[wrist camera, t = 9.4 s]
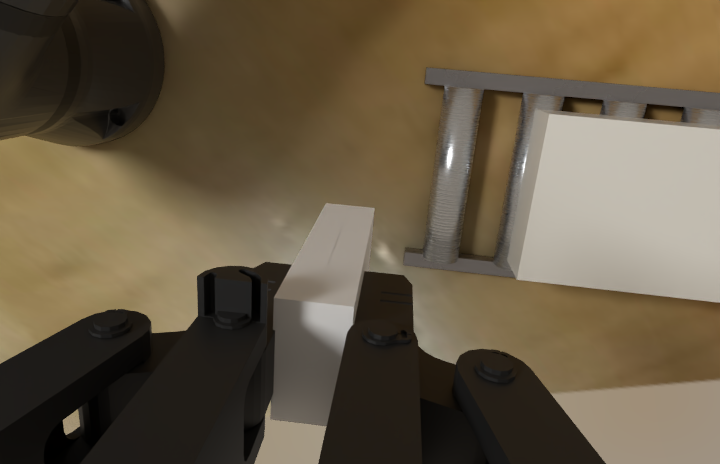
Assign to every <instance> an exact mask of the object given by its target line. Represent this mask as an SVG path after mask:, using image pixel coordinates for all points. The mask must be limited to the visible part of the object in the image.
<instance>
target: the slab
mask: <svg viewBox="0 0 720 464" xmlns="http://www.w3.org/2000/svg"><path fill="white" fill-rule="evenodd" d="M507 261H508V263H509V265H510V267H511V269H512V271H513V273H514V275H515V277H516V279H517V280H524V281H533V282H542V283H550V284H559V285H568V286H577V287H586V288H595V289H604V290H612V291H621V292H630V293H639V294H648V295H657V296H666V297H674V298H683V299H692V300H701V301H710V302H719V303H720V126H718V125H707V124H696V123H685V122H674V121H663V120H652V119H641V118H630V117H619V116H608V115H598V114H587V113H576V112H565V111H554V110H543V109H535V114H534V119H533V125H532V130H531V135H530V141H529V146H528V151H527V157H526V162H525V167H524V173H523V178H522V183H521V189H520V194H519V199H518V205H517V210H516V215H515V221H514V226H513V231H512V237H511V242H510V247H509V253H508V258H507Z"/></svg>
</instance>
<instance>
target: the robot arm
mask: <svg viewBox="0 0 720 464" xmlns="http://www.w3.org/2000/svg"><path fill="white" fill-rule="evenodd" d="M163 75H164V52H163V45H162V40H161V36H160V32H159V29H158V26H157V23H156V21H155V18H154V16H153V14H152V12H151V10H150V8H149V7H148V5H147V3H146V1H145V0H0V140H4V139H9V138H15V137H19V136H24V135H25V136H29V137H33V138H37V139H40V140H44V141H48V142H52V143H57V144H61V145H68V146H89V145H95V144H100V143H104V142H108V141H111V140H115V139H118V138H120V137H122V136H124V135H126V134H128V133H130V132H131V131H133V130H134V129H135V128H137V127H138V126H139V125H140V124H141V123H142V122H143V121H144V120H145V119H146V117H147V116H148V115H149V113H150V112H151V111H152V109H153V107H154V105H155V103H156V101H157V99H158V96H159V94H160V90H161V87H162V82H163ZM374 211H375V208H370V207H360V206H350V205H340V204H330V203H326V204H325V206H324V208H323V209H322V211H321V213H320V215H319V217H318V218H317V220H316V222H315V224H314V226H313V228H312V229H311V231H310V233H309V235H308V237H307V238H306V240H305V242H304V244H303V246H302V248H301V249H300V251H299V253H298V255H297V257H296V258H295V260H294V262H293V264H292V265H289V264H279V263H270V262H265V263H263V264H261V265H259V266H257V267H255V268H249V267H244V266H225V267H217V268H213V269H210V270H207V271H204V272H203V273H201V274H200V275H198V276H197V291H198V317H197V318H196V319H195V320H194V322H193V323H192V324H191V325H190V327H189V328H188V329H187V330H186V331H179V332H166V333H152V331H151V321H150V320H149V318H148V317H147V316H146V315H144V314H141V313H139V312H136V311H129V310H124V309H118V310H116V309H115V310H107V311H105V312H102V313H97V314H94V315H91V316H89V317H86V318H84V319H81V320H80V321H78V322H76V323H74V324H72V325H71V326H69V327H67V328H65V329H63V330H61V331H60V332H58V333H56V334H54V335H52V336H50V337H49V338H47V339H45V340H43V341H41V342H39V343H38V344H36V345H34V346H32V347H30V348H28V349H27V350H25V351H23V352H21V353H19V354H18V355H16V356H14V357H12V358H10V359H8V360H7V361H5V362H3V363H1V364H0V464H254V463H255V460H256V457H257V454H258V452H259V449H260V446H261V443H262V441H263V438H264V430H265V413H266V410H267V408H268V405H269V403H270V400H271V417H270V419H273V420H280V421H288V422H297V423H304V424H305V423H306V424H312V425H321V426H327V427H326V431H325V436H324V441H323V445H322V450H321V454H320V459H319V463H318V464H606V463H605V462H604V461H603V460H602V458H601V457H600V456H599V454H598V453H597V452H596V451H595V449H594V448H593V447H592V446H591V444H590V443H589V442H588V441H587V439H586V438H585V437H584V435H583V434H582V433H581V432H580V430H579V429H578V428H577V427H576V425H575V424H574V423H573V422H572V420H571V419H570V418H569V417H568V415H567V414H566V413H565V411H564V410H563V409H562V408H561V406H560V405H559V404H558V403H557V402H556V400H555V399H554V398H553V396H552V395H551V394H550V392H549V391H548V390H547V389H546V387H545V386H544V385H543V384H542V382H541V381H540V380H539V379H538V377H537V376H536V375H535V373H534V372H533V371H532V370H531V369H530V368H529V367H528V366H527V365H526V364H525V363H524V362H523V361H521V360H519V359H517V358H515V357H513V356H511V355H510V354H508V353H505V352H500V351H498V350H487V349H477V350H470V351H467V352H465V353H464V354H462V355H460V357H459V359H458V360H457V362H456V365H455V364H452V363H449V362H445V361H442V360H440V359H437V358H435V357H433V356H431V355H429V354H427V353H426V352H424V351H423V350H422V349H421V348H420V347H419V346H418V340H417V337H416V335H415V333H414V329H413V297H412V295H413V293H412V284H411V283H410V282H409V281H408V280H407V278H406V277H405V276H404V275H396V274H386V273H377V272H369V264H370V254H371V243H372V232H373V221H374ZM77 409H78V411H79V420H80V427H78V428H77V429H76V430H74V431H73V432H72V433H70V434H68V435H65V433H64V428H63V419H65V418H66V417H67V416H69V415H70V414H71V413H73V412H74V411H76V410H77Z"/></svg>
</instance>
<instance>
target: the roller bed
mask: <svg viewBox="0 0 720 464" xmlns="http://www.w3.org/2000/svg"><path fill="white" fill-rule="evenodd" d="M425 84H433V85H444V94H443V101H442V109H441V117H440V125H439V132H438V140H437V148H436V155H435V163H434V171H433V178H432V186H431V194H430V201H429V209H428V217H427V224H426V232H425V240H424V247H423V249H415V248H405V253H404V264H403V265H407V266H416V267H425V268H434V269H443V270H452V271H461V272H470V273H478V274H487V275H496V276H505V277H514V278H516V277H515V275H514V273H513V271H512V269H511V267H510V265H509V263H508V261H507V258H508V253H509V247H510V242H511V237H512V231H513V226H514V221H515V215H516V210H517V205H518V199H519V194H520V189H521V183H522V178H523V173H524V167H525V162H526V157H527V151H528V146H529V141H530V135H531V130H532V125H533V119H534V114H535V109H543V110H554V111H562V107H563V102H564V96H567V97H578V98H589V99H600V100H603V103H602V108H601V112H600V115H608V116H619V117H630V118H641V119H644V115H645V111H646V107H647V104H656V105H667V106H678V107H684V111H683V114H682V118H681V122H685V123H696V124H707V125H718V126H720V93H712V92H701V91H689V90H678V89H667V88H655V87H644V86H632V85H621V84H609V83H598V82H587V81H575V80H564V79H552V78H541V77H530V76H518V75H507V74H495V73H484V72H472V71H461V70H450V69H438V68H427V67H426V75H425ZM484 89H489V90H500V91H511V92H522V93H523V97H522V103H521V109H520V114H519V120H518V125H517V131H516V137H515V142H514V148H513V154H512V159H511V165H510V170H509V176H508V182H507V187H506V193H505V198H504V204H503V210H502V215H501V221H500V227H499V232H498V238H497V243H496V249H495V255H494V257H487V256H478V255H469V254H460V253H459V249H460V242H461V236H462V230H463V223H464V217H465V210H466V204H467V197H468V191H469V184H470V178H471V171H472V165H473V158H474V152H475V145H476V139H477V132H478V126H479V119H480V113H481V106H482V100H483V93H484ZM644 103H645V104H644Z"/></svg>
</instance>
